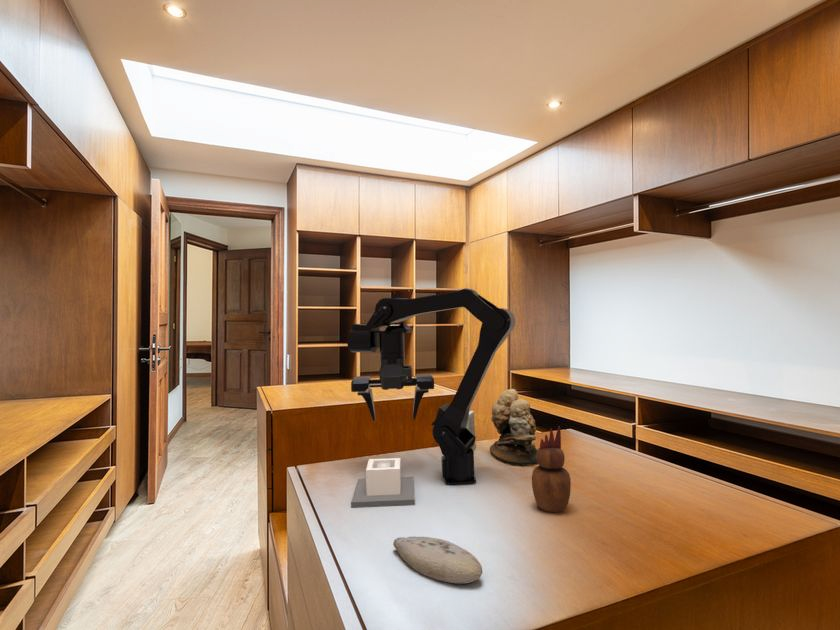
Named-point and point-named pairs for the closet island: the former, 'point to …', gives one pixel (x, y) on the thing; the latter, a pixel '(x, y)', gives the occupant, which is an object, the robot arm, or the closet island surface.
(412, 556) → the decorative stone
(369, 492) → the collar
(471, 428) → the skincare box
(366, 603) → the closet island surface
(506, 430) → the owl figurine
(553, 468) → the wooden figurine
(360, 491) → the post stand
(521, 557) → the closet island surface
